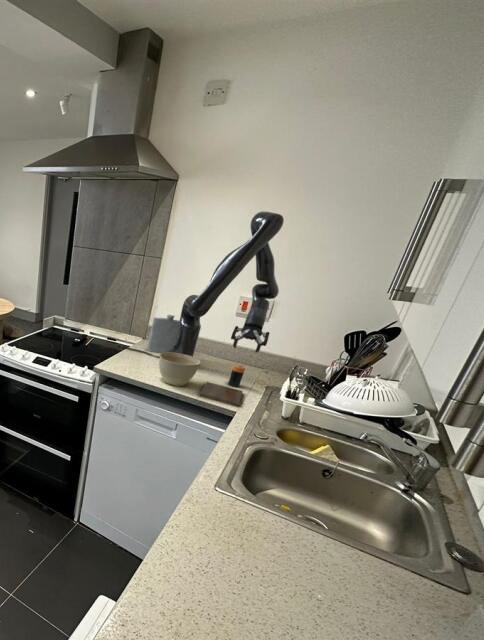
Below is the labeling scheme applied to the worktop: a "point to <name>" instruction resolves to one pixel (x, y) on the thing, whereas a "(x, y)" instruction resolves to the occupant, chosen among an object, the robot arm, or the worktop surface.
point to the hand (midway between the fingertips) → (245, 349)
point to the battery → (236, 375)
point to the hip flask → (163, 334)
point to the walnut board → (221, 393)
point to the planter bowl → (177, 368)
